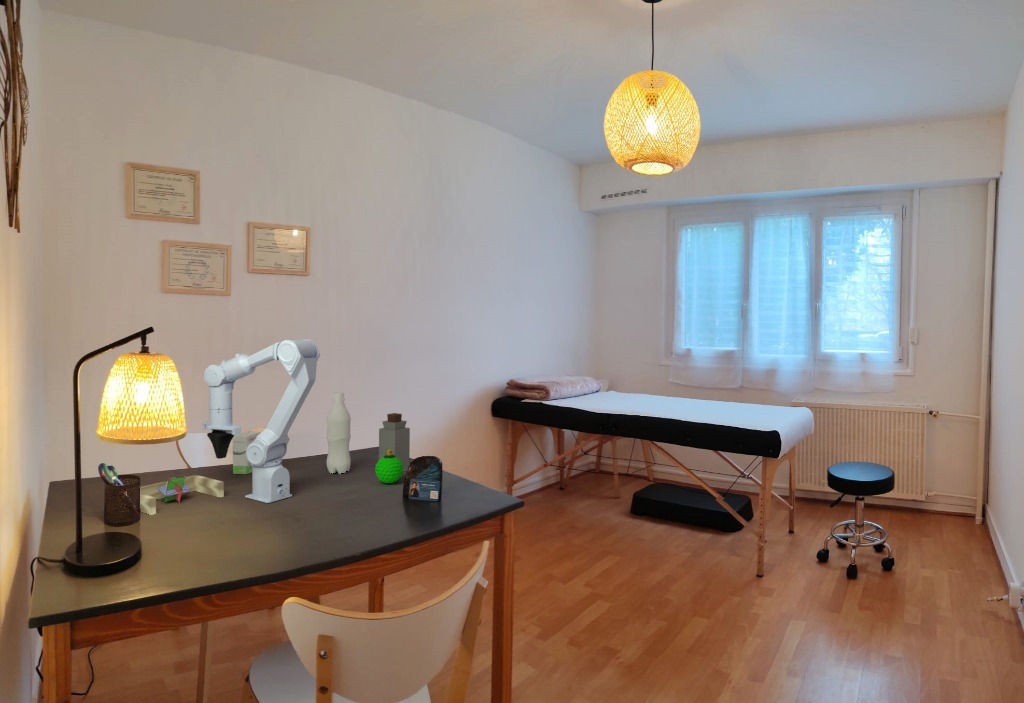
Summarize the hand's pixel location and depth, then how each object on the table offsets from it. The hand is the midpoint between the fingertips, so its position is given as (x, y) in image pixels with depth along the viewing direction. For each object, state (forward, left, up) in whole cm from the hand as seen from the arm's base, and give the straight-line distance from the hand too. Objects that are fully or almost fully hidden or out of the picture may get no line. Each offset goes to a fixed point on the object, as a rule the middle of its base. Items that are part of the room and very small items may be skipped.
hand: (221, 457), depth 172 cm
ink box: (+14, -18, -10) cm, 25 cm away
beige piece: (+1, +12, -9) cm, 15 cm away
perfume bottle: (-22, -45, -10) cm, 51 cm away
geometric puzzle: (+2, +12, -10) cm, 16 cm away
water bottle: (-10, -33, -10) cm, 36 cm away
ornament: (-31, -33, -10) cm, 46 cm away
